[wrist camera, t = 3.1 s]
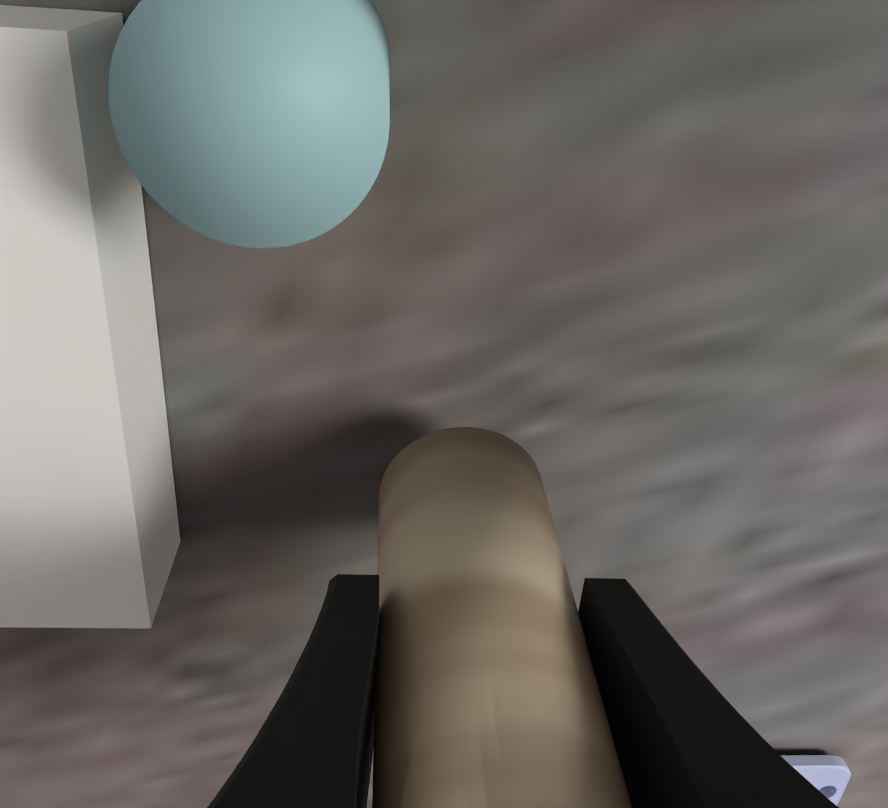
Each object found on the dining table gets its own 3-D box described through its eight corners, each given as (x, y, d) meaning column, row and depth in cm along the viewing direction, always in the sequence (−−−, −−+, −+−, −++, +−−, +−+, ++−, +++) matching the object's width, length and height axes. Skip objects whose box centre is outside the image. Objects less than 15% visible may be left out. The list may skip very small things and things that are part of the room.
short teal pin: (385, 162, 14) (385, 253, 10) (201, 152, 14) (125, 242, 10) (392, -43, 12) (395, -30, 8) (185, -59, 12) (89, -52, 8)
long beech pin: (532, 562, 16) (639, 1036, 9) (376, 560, 16) (365, 1044, 9) (551, 429, 15) (696, 871, 8) (381, 424, 15) (372, 875, 8)
